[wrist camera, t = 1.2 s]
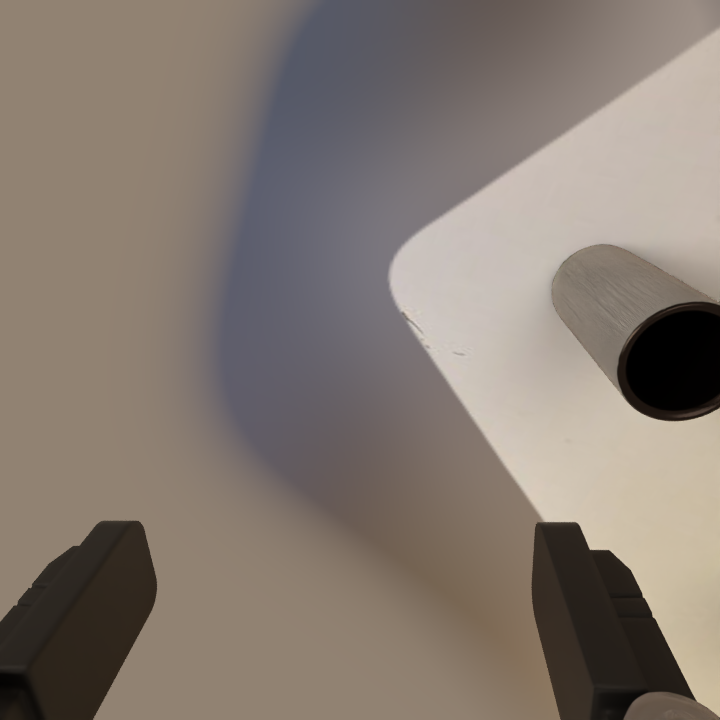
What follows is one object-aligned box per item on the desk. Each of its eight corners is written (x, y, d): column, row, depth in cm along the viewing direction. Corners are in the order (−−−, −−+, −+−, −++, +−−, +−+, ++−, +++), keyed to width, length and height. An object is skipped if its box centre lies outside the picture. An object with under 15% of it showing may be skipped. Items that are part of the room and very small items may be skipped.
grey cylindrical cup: (612, 342, 30) (704, 440, 21) (534, 310, 30) (592, 395, 20) (660, 264, 29) (785, 332, 19) (578, 229, 28) (664, 280, 19)
